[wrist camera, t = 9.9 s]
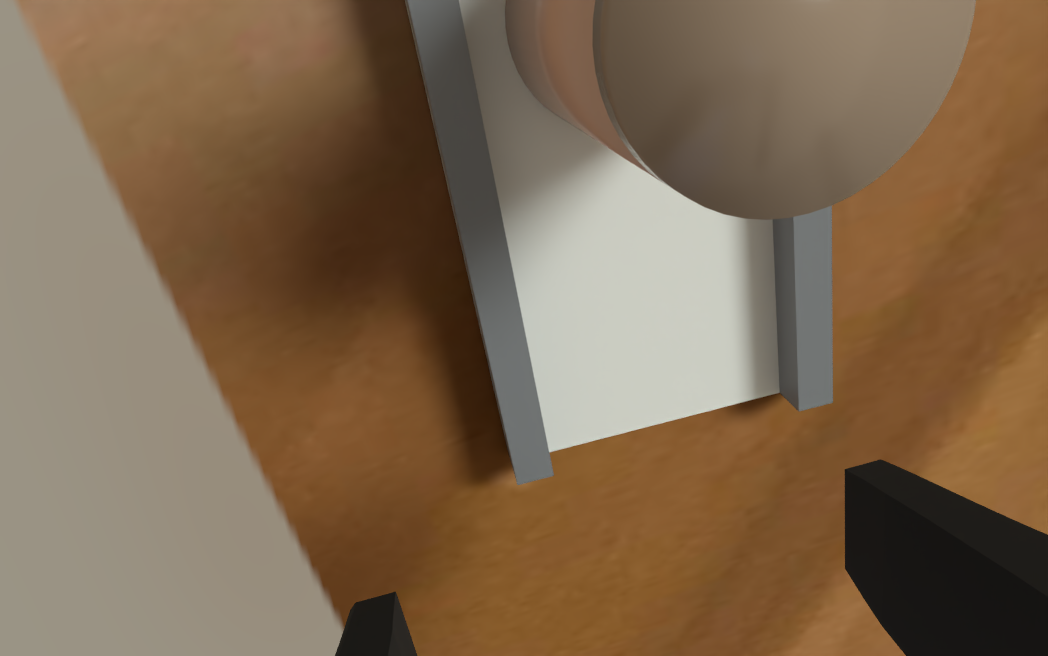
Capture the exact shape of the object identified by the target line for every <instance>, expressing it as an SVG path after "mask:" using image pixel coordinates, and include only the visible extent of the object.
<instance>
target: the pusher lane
mask: <svg viewBox="0 0 1048 656" xmlns="http://www.w3.org/2000/svg"><path fill="white" fill-rule="evenodd" d="M405 2H406V7H407V11H408V15H409V20H410V24H411V29H412V33H413V37H414V42H415V46H416V51H417V55H418V59H419V64H420V68H421V72H422V77H423V81H424V86H425V90H426V94H427V99H428V103H429V107H430V112H431V116H432V121H433V125H434V129H435V134H436V138H437V143H438V147H439V151H440V156H441V160H442V164H443V169H444V173H445V178H446V182H447V186H448V191H449V195H450V199H451V204H452V208H453V213H454V217H455V221H456V226H457V230H458V234H459V239H460V243H461V248H462V252H463V256H464V261H465V265H466V270H467V274H468V278H469V283H470V287H471V291H472V296H473V300H474V305H475V309H476V313H477V318H478V322H479V326H480V331H481V335H482V340H483V344H484V348H485V353H486V357H487V361H488V366H489V370H490V375H491V379H492V383H493V388H494V392H495V397H496V401H497V405H498V410H499V414H500V418H501V423H502V427H503V432H504V436H505V440H506V445H507V449H508V453H509V457H510V461H511V464H512V467H513V471H514V474H515V478H516V481H517V485H520V484H523V483H527V482H531V481H535V480H539V479H543V478H546V477H550V476H554V474H553V469H552V464H551V459H550V454H549V452H552V451H556V450H560V449H564V448H568V447H571V446H575V445H579V444H583V443H587V442H591V441H595V440H598V439H602V438H606V437H610V436H614V435H618V434H622V433H625V432H629V431H633V430H637V429H641V428H645V427H649V426H653V425H656V424H660V423H664V422H668V421H672V420H676V419H680V418H683V417H687V416H691V415H695V414H699V413H703V412H707V411H711V410H714V409H718V408H722V407H726V406H730V405H734V404H738V403H741V402H745V401H749V400H753V399H757V398H761V397H765V396H769V395H772V394H776V393H780V394H782V395H783V396H784V397H785V398H786V399H787V400H788V401H789V402H790V403H791V404H792V405H793V406H794V407H795V408H796V409H797V410H798V411H802V410H806V409H810V408H814V407H818V406H822V405H825V404H829V403H833V363H832V206H829V207H826V208H823V209H821V210H818V211H815V212H812V213H809V214H804V215H800V216H795V217H790V218H783V219H770V220H760V219H744V218H739V217H734V216H730V215H725V214H722V213H719V212H716V211H713V210H711V209H708V208H705V207H703V206H701V205H699V204H697V203H696V202H694V201H692V200H690V199H688V198H686V197H685V196H683V195H682V194H680V193H678V192H677V191H675V190H674V189H672V188H670V187H669V186H667V185H666V184H664V183H663V182H661V181H659V180H658V179H656V178H655V177H653V176H651V175H650V174H648V173H647V172H645V171H644V170H642V169H640V168H639V167H637V166H636V165H634V164H632V163H631V162H629V161H628V160H626V159H624V158H623V157H621V156H620V155H618V154H617V153H615V152H613V151H612V150H610V149H609V148H607V147H605V146H604V145H602V144H601V143H599V142H598V141H596V140H594V139H593V138H591V137H590V136H588V135H586V134H585V133H583V132H582V131H580V130H579V129H577V128H575V127H574V126H572V125H571V124H569V123H567V122H566V121H564V120H563V119H561V118H560V117H558V116H556V115H555V114H554V113H552V112H551V111H550V110H548V109H547V108H546V107H544V106H543V105H542V104H541V103H540V102H539V101H538V100H537V99H536V98H535V97H534V96H533V94H532V93H531V92H530V90H529V89H528V88H527V87H526V85H525V84H524V82H523V80H522V78H521V77H520V75H519V73H518V71H517V69H516V66H515V64H514V62H513V59H512V56H511V53H510V49H509V46H508V41H507V34H506V28H505V5H506V0H405Z"/></svg>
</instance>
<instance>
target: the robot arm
mask: <svg viewBox="0 0 1048 656" xmlns="http://www.w3.org/2000/svg"><path fill="white" fill-rule="evenodd" d="M845 569H846V571H847V572H848V574H849V575H850V577H851V579H852V580H853V582H854V583H855V585H856V587H857V588H858V590H859V591H860V593H861V595H862V596H863V598H864V599H865V601H866V603H867V604H868V606H869V607H870V609H871V610H872V612H873V613H874V615H875V616H876V618H877V619H878V621H879V622H880V624H881V625H882V626H883V628H884V629H885V630H886V631H887V633H888V634H889V635H890V636H891V638H892V639H893V640H894V641H895V643H896V644H897V645H898V646H899V647H900V649H901V650H902V651H903V652H904V654H905V655H906V656H1048V535H1047V534H1044V533H1042V532H1040V531H1037V530H1035V529H1033V528H1031V527H1028V526H1026V525H1024V524H1021V523H1019V522H1017V521H1015V520H1012V519H1010V518H1008V517H1006V516H1004V515H1001V514H999V513H997V512H995V511H992V510H990V509H988V508H986V507H984V506H982V505H979V504H977V503H975V502H973V501H971V500H969V499H966V498H964V497H962V496H960V495H958V494H956V493H954V492H951V491H949V490H947V489H945V488H943V487H941V486H939V485H937V484H934V483H932V482H930V481H928V480H926V479H924V478H921V477H919V476H917V475H915V474H913V473H911V472H908V471H906V470H904V469H902V468H900V467H897V466H895V465H893V464H890V463H888V462H885V461H883V460H877V461H874V462H870V463H866V464H863V465H859V466H855V467H852V468H848V469H845ZM335 656H417V653H416V650H415V647H414V645H413V642H412V639H411V636H410V633H409V630H408V627H407V624H406V621H405V618H404V615H403V612H402V609H401V606H400V603H399V600H398V597H397V594H396V592H393V593H389V594H386V595H382V596H378V597H375V598H371V599H367V600H364V601H360V602H356V603H355V604H354V606H353V607H352V609H351V610H350V613H349V616H348V619H347V622H346V625H345V628H344V631H343V634H342V637H341V640H340V643H339V646H338V649H337V652H336V654H335Z"/></svg>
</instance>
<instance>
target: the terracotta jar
mask: <svg viewBox="0 0 1048 656" xmlns="http://www.w3.org/2000/svg"><path fill="white" fill-rule="evenodd" d="M975 2H976V0H506V5H505V28H506V34H507V41H508V46H509V49H510V53H511V56H512V59H513V62H514V64H515V66H516V69H517V71H518V73H519V75H520V77H521V78H522V80H523V82H524V84H525V85H526V87H527V88H528V89H529V90H530V92H531V93H532V94H533V96H534V97H535V98H536V99H537V100H538V101H539V102H540V103H541V104H542V105H543V106H544V107H546V108H547V109H548V110H550V111H551V112H552V113H554V114H555V115H556V116H558V117H560V118H561V119H563V120H564V121H566V122H567V123H569V124H571V125H572V126H574V127H575V128H577V129H579V130H580V131H582V132H583V133H585V134H586V135H588V136H590V137H591V138H593V139H594V140H596V141H598V142H599V143H601V144H602V145H604V146H605V147H607V148H609V149H610V150H612V151H613V152H615V153H617V154H618V155H620V156H621V157H623V158H624V159H626V160H628V161H629V162H631V163H632V164H634V165H636V166H637V167H639V168H640V169H642V170H644V171H645V172H647V173H648V174H650V175H651V176H653V177H655V178H656V179H658V180H659V181H661V182H663V183H664V184H666V185H667V186H669V187H670V188H672V189H674V190H675V191H677V192H678V193H680V194H682V195H683V196H685V197H686V198H688V199H690V200H692V201H694V202H696V203H697V204H699V205H701V206H703V207H705V208H708V209H711V210H713V211H716V212H719V213H722V214H725V215H730V216H734V217H739V218H744V219H760V220H770V219H783V218H790V217H795V216H800V215H804V214H809V213H812V212H815V211H818V210H821V209H823V208H826V207H829V206H832V205H834V204H836V203H838V202H840V201H842V200H844V199H846V198H848V197H850V196H852V195H853V194H855V193H857V192H858V191H860V190H861V189H863V188H864V187H866V186H868V185H869V184H871V183H872V182H873V181H875V180H876V179H877V178H878V177H880V176H881V175H882V174H883V173H885V172H886V171H887V170H888V169H890V168H891V167H892V166H893V165H894V164H895V163H896V162H897V161H898V160H899V159H900V158H901V157H902V156H903V155H904V154H905V153H906V152H907V151H908V150H909V149H910V147H911V146H912V145H913V144H914V143H915V141H916V140H917V139H918V138H919V136H920V135H921V134H922V133H923V132H924V130H925V129H926V127H927V126H928V124H929V123H930V121H931V120H932V118H933V117H934V116H935V114H936V113H937V111H938V110H939V108H940V106H941V104H942V102H943V100H944V99H945V97H946V95H947V93H948V91H949V89H950V87H951V85H952V83H953V81H954V78H955V76H956V74H957V71H958V69H959V66H960V64H961V62H962V59H963V55H964V52H965V49H966V46H967V42H968V39H969V36H970V31H971V26H972V21H973V16H974V11H975Z"/></svg>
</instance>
